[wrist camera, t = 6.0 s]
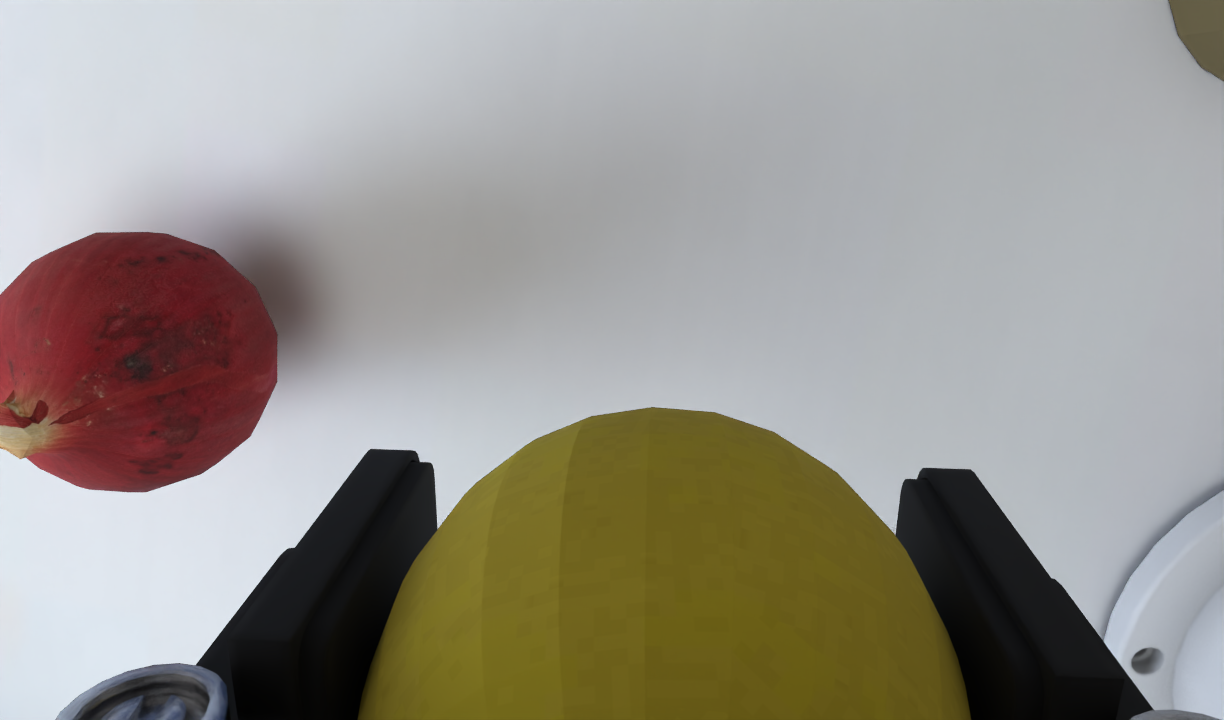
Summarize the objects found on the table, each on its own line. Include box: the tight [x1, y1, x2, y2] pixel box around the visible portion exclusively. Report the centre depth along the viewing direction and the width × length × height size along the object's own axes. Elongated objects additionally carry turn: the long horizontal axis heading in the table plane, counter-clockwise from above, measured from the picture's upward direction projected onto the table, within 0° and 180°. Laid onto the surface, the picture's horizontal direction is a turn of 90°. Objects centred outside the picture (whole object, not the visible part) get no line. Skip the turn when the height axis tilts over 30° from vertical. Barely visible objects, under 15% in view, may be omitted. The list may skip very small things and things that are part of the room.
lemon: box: [357, 407, 971, 720], centre depth 9 cm, size 6×6×8 cm
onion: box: [0, 232, 277, 492], centre depth 21 cm, size 6×6×8 cm
